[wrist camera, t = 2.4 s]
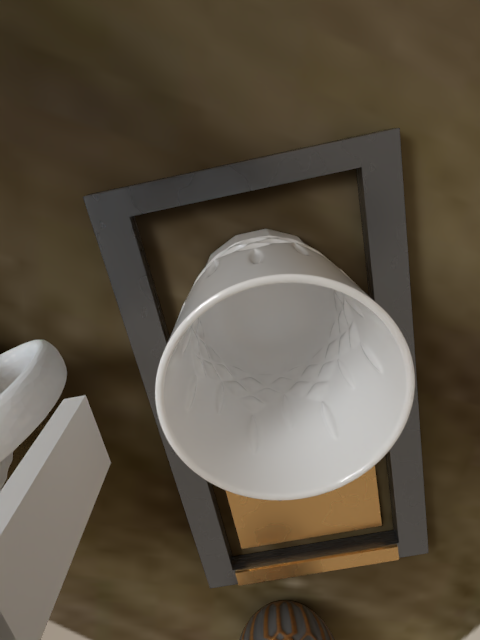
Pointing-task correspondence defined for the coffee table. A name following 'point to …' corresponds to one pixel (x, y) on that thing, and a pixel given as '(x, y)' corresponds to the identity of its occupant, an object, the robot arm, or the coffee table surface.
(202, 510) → the grey double frame
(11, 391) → the mug
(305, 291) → the white cup
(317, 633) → the vase
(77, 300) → the coffee table surface
